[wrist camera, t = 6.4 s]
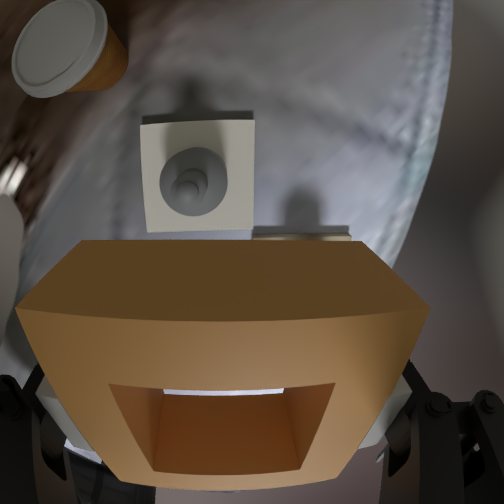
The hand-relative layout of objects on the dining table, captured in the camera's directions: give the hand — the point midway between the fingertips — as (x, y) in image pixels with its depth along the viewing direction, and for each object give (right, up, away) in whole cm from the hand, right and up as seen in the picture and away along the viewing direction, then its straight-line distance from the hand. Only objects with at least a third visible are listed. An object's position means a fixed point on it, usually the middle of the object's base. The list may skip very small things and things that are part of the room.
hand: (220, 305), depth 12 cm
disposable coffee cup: (-15, +23, +12) cm, 30 cm away
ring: (0, -1, -3) cm, 3 cm away
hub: (-5, +10, +19) cm, 22 cm away
